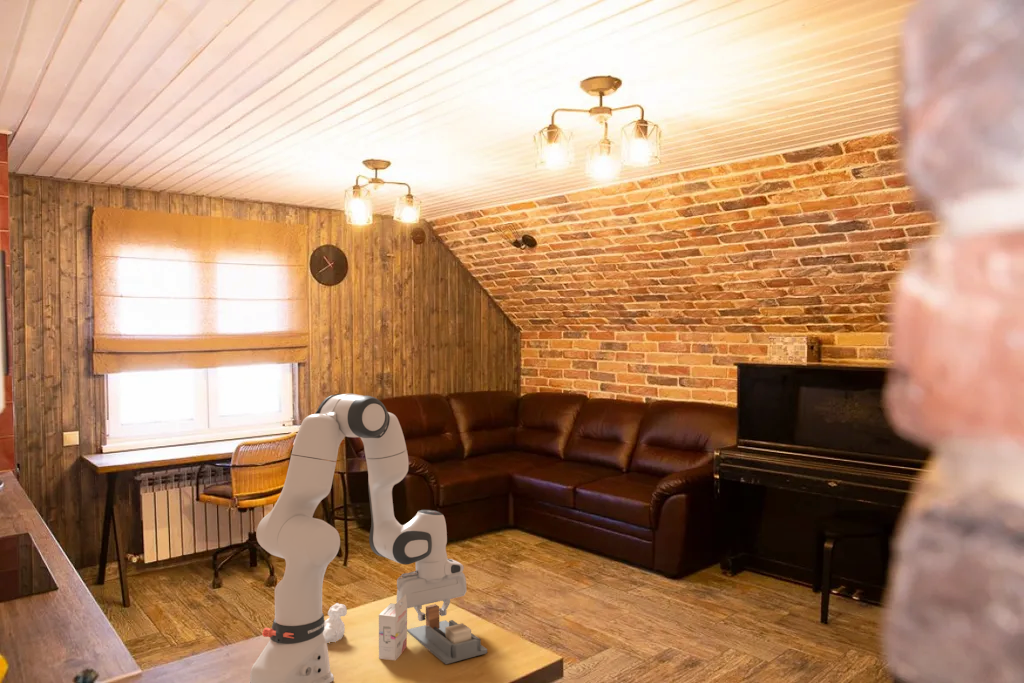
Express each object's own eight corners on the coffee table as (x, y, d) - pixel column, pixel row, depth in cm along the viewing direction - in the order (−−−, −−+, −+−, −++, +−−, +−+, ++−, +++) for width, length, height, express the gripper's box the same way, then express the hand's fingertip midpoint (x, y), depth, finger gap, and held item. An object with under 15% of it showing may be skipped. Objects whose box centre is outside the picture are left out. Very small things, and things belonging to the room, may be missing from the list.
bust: (328, 658, 197) (355, 625, 197) (305, 641, 196) (332, 608, 197) (336, 639, 209) (361, 608, 209) (314, 623, 208) (340, 591, 209)
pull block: (471, 648, 193) (471, 625, 193) (454, 653, 190) (454, 629, 190) (438, 624, 209) (438, 603, 209) (422, 628, 207) (422, 607, 207)
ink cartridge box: (389, 646, 198) (390, 591, 198) (407, 648, 197) (408, 593, 197) (377, 659, 190) (378, 602, 190) (395, 662, 189) (396, 604, 189)
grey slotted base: (487, 652, 193) (486, 637, 193) (445, 664, 187) (445, 648, 187) (445, 623, 214) (445, 609, 214) (407, 633, 207) (406, 618, 207)
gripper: (401, 577, 199) (402, 629, 199) (468, 564, 210) (469, 613, 210) (392, 571, 204) (393, 622, 204) (458, 559, 215) (459, 606, 215)
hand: (432, 617), depth 207 cm, fingers open, 5 cm apart
